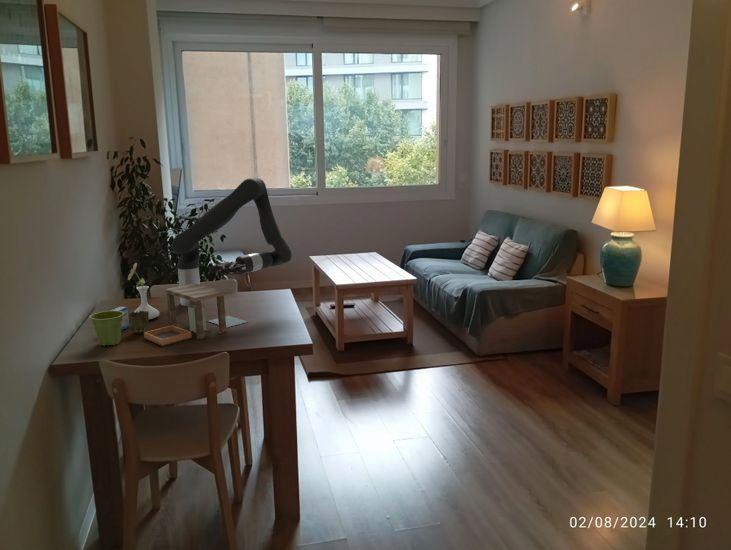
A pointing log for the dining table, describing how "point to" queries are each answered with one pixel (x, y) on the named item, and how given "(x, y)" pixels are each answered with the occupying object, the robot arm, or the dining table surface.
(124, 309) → the medicine box
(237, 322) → the slate mat
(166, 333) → the shallow orange tray
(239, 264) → the robot arm
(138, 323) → the cup
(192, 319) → the sage block
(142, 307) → the flower in vase
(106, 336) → the plant pot
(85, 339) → the dining table surface
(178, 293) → the walnut table
